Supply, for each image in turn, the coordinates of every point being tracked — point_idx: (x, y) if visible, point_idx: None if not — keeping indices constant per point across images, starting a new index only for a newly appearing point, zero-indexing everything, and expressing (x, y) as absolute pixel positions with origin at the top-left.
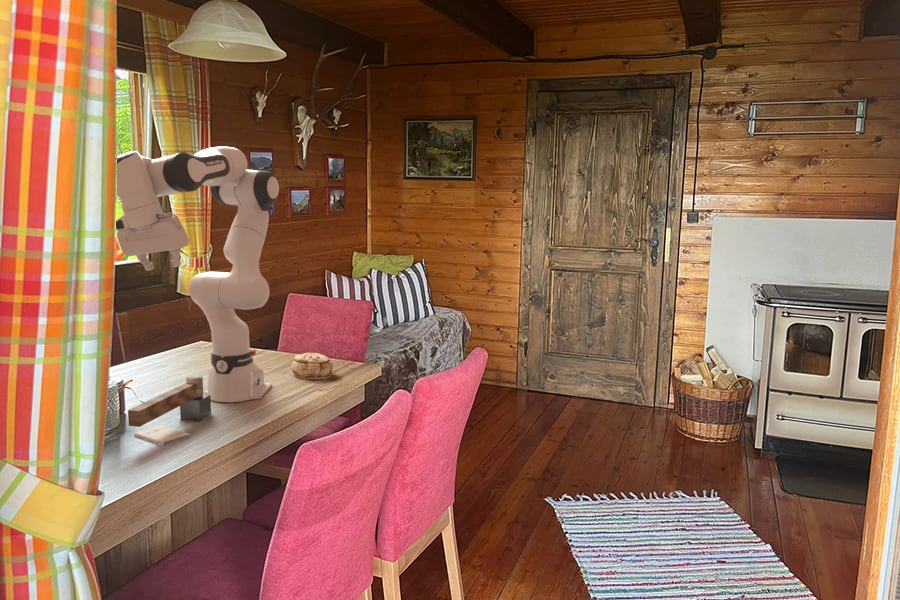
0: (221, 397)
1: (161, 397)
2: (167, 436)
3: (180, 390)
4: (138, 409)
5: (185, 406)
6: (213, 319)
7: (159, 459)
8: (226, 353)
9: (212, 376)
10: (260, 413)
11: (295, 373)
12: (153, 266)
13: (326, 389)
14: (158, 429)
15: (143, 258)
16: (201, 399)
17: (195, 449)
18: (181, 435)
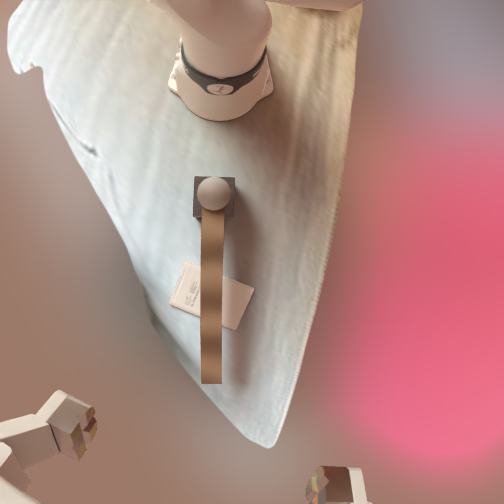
0: (218, 116)
1: (212, 311)
2: (227, 309)
3: (220, 261)
4: (215, 376)
5: None
6: (199, 29)
7: (257, 370)
8: (231, 73)
9: (191, 87)
10: (307, 161)
11: None
12: (87, 416)
13: (347, 42)
14: (195, 283)
15: (16, 454)
16: (233, 209)
17: (285, 330)
18: (246, 300)
